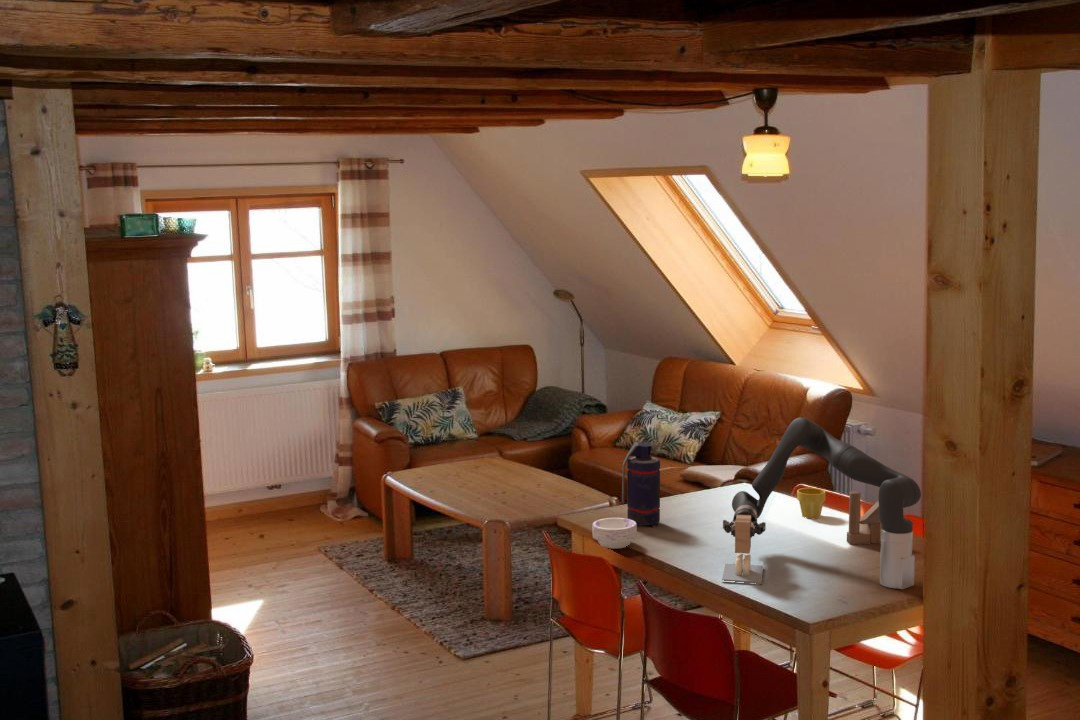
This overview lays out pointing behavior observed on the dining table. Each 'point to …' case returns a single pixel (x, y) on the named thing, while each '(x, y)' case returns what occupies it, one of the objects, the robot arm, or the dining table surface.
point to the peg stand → (743, 571)
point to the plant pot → (811, 501)
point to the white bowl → (614, 532)
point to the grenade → (642, 485)
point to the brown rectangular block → (742, 534)
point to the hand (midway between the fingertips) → (742, 534)
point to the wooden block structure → (863, 522)
